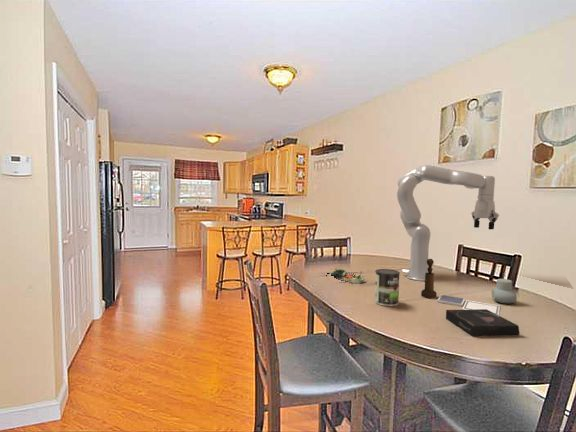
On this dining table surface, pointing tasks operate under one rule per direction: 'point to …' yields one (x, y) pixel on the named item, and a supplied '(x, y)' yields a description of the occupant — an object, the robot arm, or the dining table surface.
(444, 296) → the pad
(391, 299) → the coffee can
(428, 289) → the brown wooden tall piece
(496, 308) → the paper sheet
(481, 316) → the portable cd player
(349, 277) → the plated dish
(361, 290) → the dining table surface
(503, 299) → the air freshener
